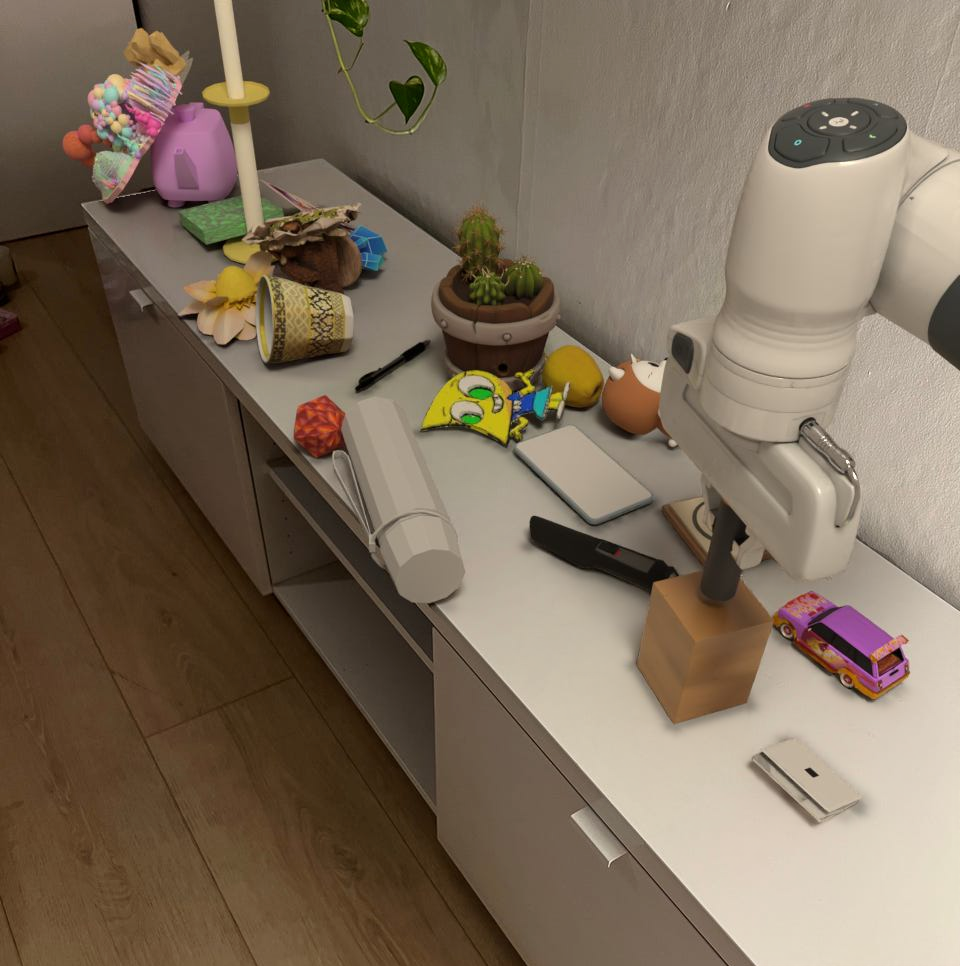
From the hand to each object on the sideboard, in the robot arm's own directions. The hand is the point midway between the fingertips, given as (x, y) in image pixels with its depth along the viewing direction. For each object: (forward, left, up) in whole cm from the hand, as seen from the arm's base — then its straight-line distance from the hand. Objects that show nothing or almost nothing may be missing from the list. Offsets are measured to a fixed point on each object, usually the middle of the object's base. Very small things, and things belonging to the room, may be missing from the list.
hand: (729, 543), depth 74 cm
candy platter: (+29, -116, -7) cm, 119 cm away
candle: (+19, -93, -16) cm, 97 cm away
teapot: (+24, -114, -16) cm, 117 cm away
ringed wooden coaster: (-13, -17, -16) cm, 27 cm away
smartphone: (-3, -30, -16) cm, 34 cm away
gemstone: (+12, -78, -12) cm, 80 cm away
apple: (-10, -41, -14) cm, 44 cm away
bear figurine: (+16, -79, -5) cm, 80 cm away
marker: (0, 0, -5) cm, 5 cm away
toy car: (-14, +1, -16) cm, 21 cm away
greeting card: (+13, -103, -15) cm, 105 cm away
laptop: (-3, +13, -16) cm, 21 cm away
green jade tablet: (+21, -100, -13) cm, 103 cm away
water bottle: (+18, -41, -12) cm, 46 cm away
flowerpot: (-1, -51, -16) cm, 54 cm away
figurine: (-17, -30, -13) cm, 37 cm away
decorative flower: (+23, -72, -11) cm, 77 cm away
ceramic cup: (+14, -65, -13) cm, 68 cm away
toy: (-4, -38, -13) cm, 40 cm away
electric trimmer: (+1, -16, -16) cm, 23 cm away
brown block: (0, 0, -16) cm, 16 cm away
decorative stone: (+21, -40, -11) cm, 47 cm away
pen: (+10, -57, -15) cm, 60 cm away
